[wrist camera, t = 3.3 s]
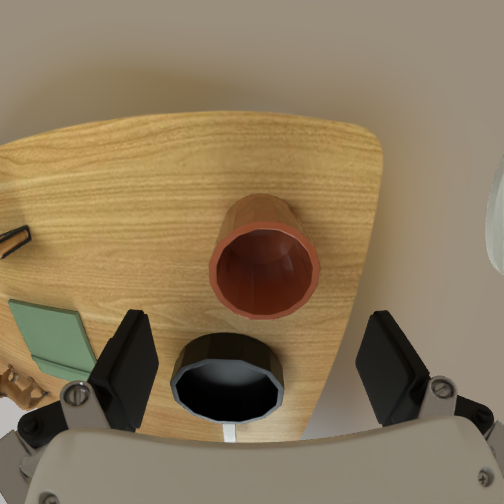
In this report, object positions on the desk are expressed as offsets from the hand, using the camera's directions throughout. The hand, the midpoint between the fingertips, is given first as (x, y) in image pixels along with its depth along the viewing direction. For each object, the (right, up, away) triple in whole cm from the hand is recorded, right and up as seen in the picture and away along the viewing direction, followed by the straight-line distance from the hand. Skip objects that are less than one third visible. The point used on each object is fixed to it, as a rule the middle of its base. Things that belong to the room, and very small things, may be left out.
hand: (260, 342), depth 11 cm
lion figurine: (-45, -21, +24) cm, 55 cm away
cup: (0, +5, +13) cm, 14 cm away
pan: (-3, -14, +21) cm, 25 cm away
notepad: (-28, -10, +19) cm, 35 cm away
